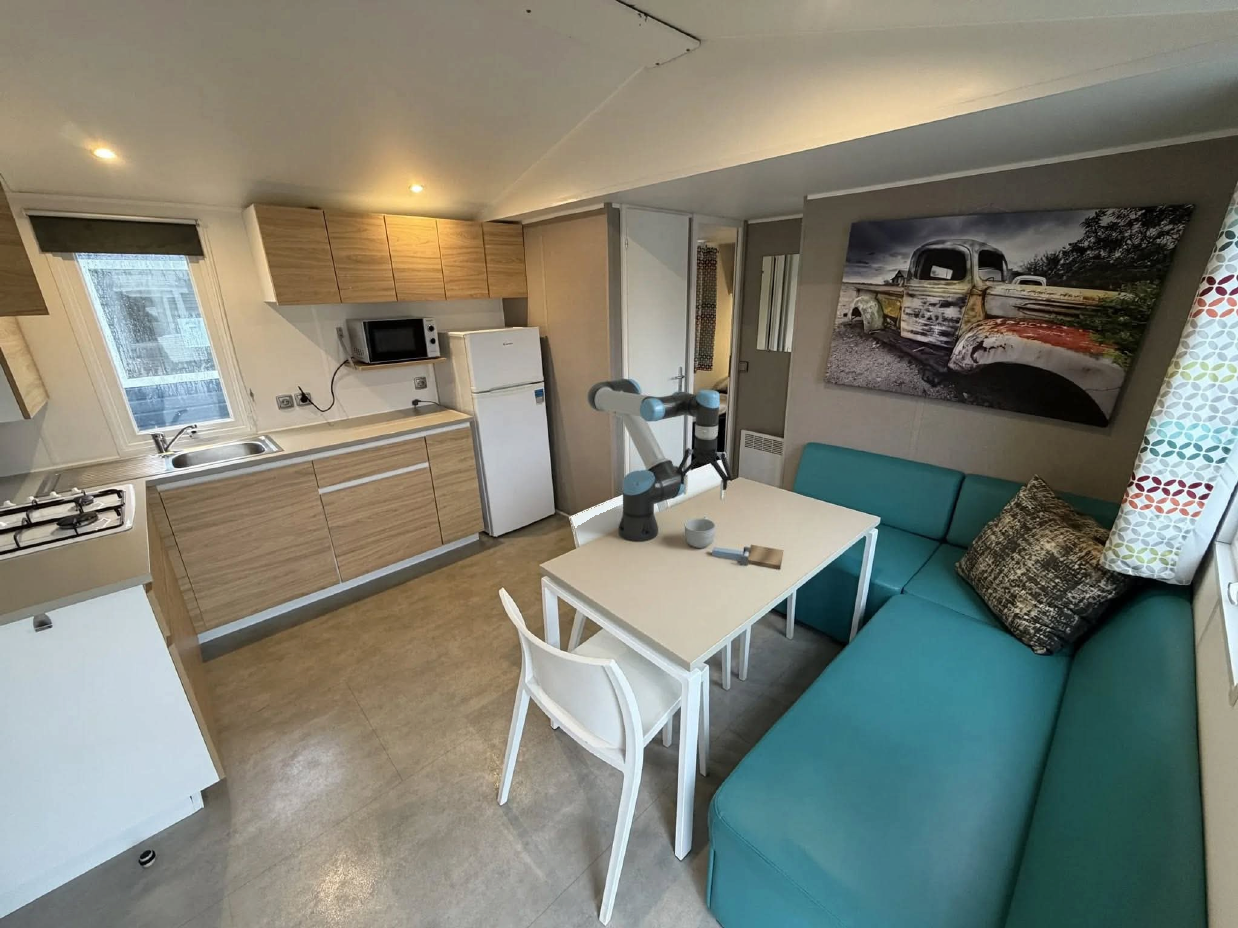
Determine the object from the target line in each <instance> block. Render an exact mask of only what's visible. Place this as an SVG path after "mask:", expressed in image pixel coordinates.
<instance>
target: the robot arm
mask: <svg viewBox="0 0 1238 928" xmlns="http://www.w3.org/2000/svg"><path fill="white" fill-rule="evenodd" d="M586 396H587V397H586V398H587V399H586V400H587V403H588V405H589V407H590V408H591V409H593V410H594V411H597V412H602V413H608V412H613V413H614V414H615V416H616V417H617V418H620V419H621V420H622V423H623V424H624V426H625V428H626V430H627V432H628V434H629V436H630V438H631V441H632V443H633V445H634V447H635V449H636V452H638V454H639V456H640V459H641V462H642V463H643V465H644V467H645V469H642V470H634V471H630V472H629V473H627V474H626V475H625V476H624V477H623V480H622V487H621V490H622V515H621V518H620V520H619V525H618V535H619V536H620V537H621V538H622V539H624V540H627V541H631V542H645V541H646V542H647V541H650V540H653V539H655V538H657V536H658V535H659V525H658V522H657V519H656V516H655V511H654V510H655V504H656V505H657V504H658V503H661V502H664V501H668V500H671V499H675V498H677V497H679V496H682V495H686V494H687V493H688V486H689V474H688V473H689V471H690V470H691V469H692V468H693V467H694V466H695V465H696V464H697V462H698V463H699V464H706V465H709V464H710V465H711V466H712V467H713V468H714V470H715V471H716V472H717V474H718V475H719V477H720V478H721V480H720V490H719V500H723V498H724V493H725V491H726V490H727V488H728V482H729V481H732V480H733V479H734V475H733V472H732V470H731V468H730V464H729V462H728V459H727V452H726V451H721V452H720V451H719V452H718V450H717V449H718V432H719V416H720V415H719V413H720V406H721V403H720V393H719V392H718V391H716V390H711V389H701V390H698V391H697V392H696V394H694V393H690V392H686V391H679V390H678V391H675V392H673V393H672V394H671V395H670V394H669V395H666V396H665V395H664V396H655V395H653V396H652V395H646V394H643V393H642V388H641V386H640V385H639V383H638V382H637V381H636V380H634V379H631V378H620V379H615V380H614V379H613V380H606V381H599V382H597V383H595V384H593V385H592V386H591V387H590V389H589V390H588V392H587V395H586ZM683 416H689V417H692V418H695V427H694V429H695V430H694V435H695V437H694V448H693V449H691V448H690V447H687V448H686V449H685V450H684V456H683V457H682V460H681V461H680V464H679V466H678V465H674V463H673V461H672V460H671V458H666V456H665V455H664V452H663V450H662V449H661V447H660V444H659V442H658V441H657V439H656V437H655V435H654V433H653V430H652V429H651V427H650V425H649V422H658V421H662V420H665V419H666V420H667V419H672V418H676V417H677V418H678V417H683ZM691 455H693V456H694V459H693V460H692V461H691V462H690V463H689V465H688V466H687V467H685V469H683V468H684V466H686V465H685V464H686V462H687V460H688V459H689V457H690V456H691ZM717 457H718V458H719V459H720V461H721V463H722V466H723V468H722V466H721V465H720V464H719V463H718V460H717V459H716V458H717ZM723 469H724V470H723Z"/></svg>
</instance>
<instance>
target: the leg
mask: <svg viewBox="0 0 1238 928" xmlns="http://www.w3.org/2000/svg"><path fill="white" fill-rule="evenodd" d="M743 551H744V550H738V549H731V548H727V547H726V548H724V547H717V546H714V547H713V548H712V552H711V554H712V555H711V556H712V557H715V558H722V559H726V560H732V561H733V560H734V561H736V562H738V561H739V562H740V559H741V555H743ZM748 555H749V552H747V551H745V552H744V555H743V556H748Z"/></svg>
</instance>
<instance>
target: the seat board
mask: <svg viewBox="0 0 1238 928" xmlns="http://www.w3.org/2000/svg"><path fill="white" fill-rule="evenodd" d="M750 548H751V553H749V555H748V565H749V564H750V565H754V566H755V565H756V566H759V567H760V566H761V567H765V568H771V569H776V570H781V568H782V562H783V557H784V549H778V548H773V547H767V546H762V545H755V544H750Z"/></svg>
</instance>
